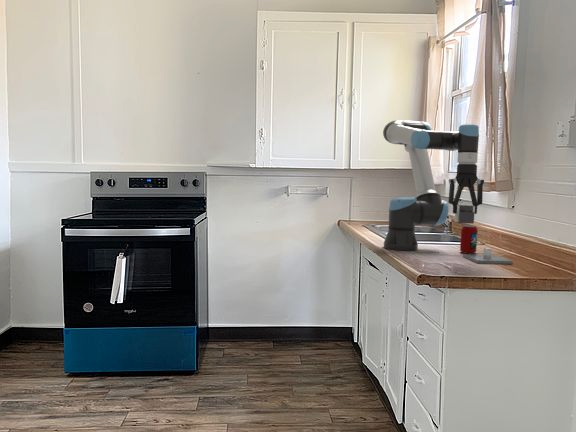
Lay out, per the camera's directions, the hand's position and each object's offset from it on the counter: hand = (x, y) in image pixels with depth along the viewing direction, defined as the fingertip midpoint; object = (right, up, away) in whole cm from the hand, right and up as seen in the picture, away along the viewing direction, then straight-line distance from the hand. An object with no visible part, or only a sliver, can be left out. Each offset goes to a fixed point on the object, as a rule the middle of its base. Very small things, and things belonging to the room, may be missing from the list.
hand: (464, 221), depth 201 cm
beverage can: (+9, -14, +21) cm, 26 cm away
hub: (+10, -16, +2) cm, 18 cm away
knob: (0, 0, 0) cm, 0 cm away
